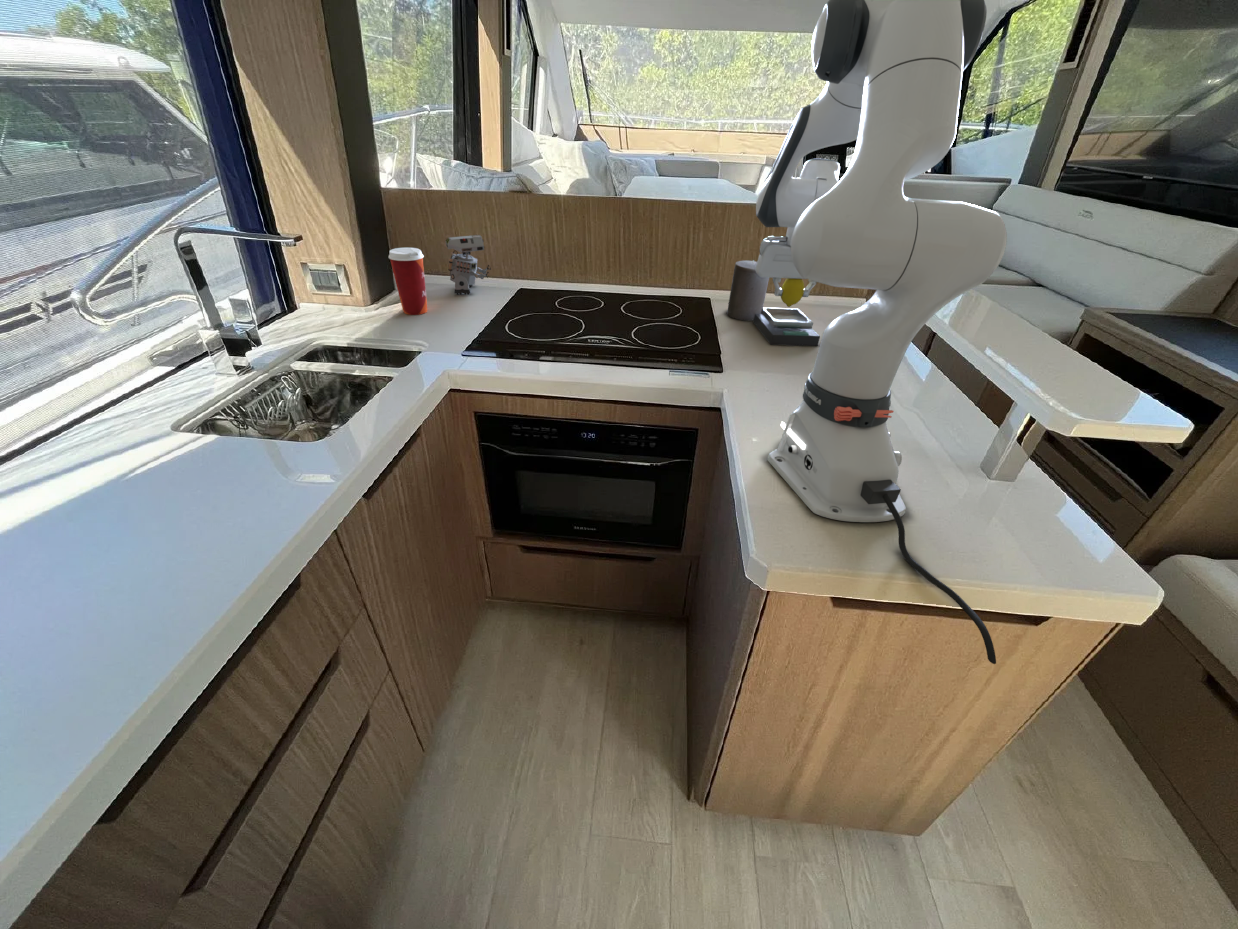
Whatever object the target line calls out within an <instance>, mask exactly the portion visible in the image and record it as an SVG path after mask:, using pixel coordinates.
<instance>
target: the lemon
mask: <svg viewBox="0 0 1238 929" xmlns="http://www.w3.org/2000/svg"><path fill="white" fill-rule="evenodd" d="M781 288H782V289H783V292H782V296H780V299H781V301H782V303H783V304H785V305H786V308H790V307H792V306H793V305H796V304H798V303H799V302H800V301H802V300H801V299H802V298H803V297H802V296H803V293H804V288H805V282H804V279H793V278H785V280H784V281H783V283H782V285H781Z"/></svg>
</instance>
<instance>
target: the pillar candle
mask: <svg viewBox="0 0 1238 929" xmlns="http://www.w3.org/2000/svg"><path fill="white" fill-rule="evenodd" d="M756 265H757V261H755V260H754V259H752V260H738V261H736V262H735V264H734V269H733V273H732V281H731V287H730V292H729V299H728V303H727V304H728V305H727V311H726V315H727V316H728V317H729V318H731V319H736V320H739V321H749V322H750V321H753V322H754V317H755V314H761V310H762V308H764V305H765V301H766V295H767V289H768V286H769V285H768V284H769V281H770V278H766V277H760V276H759V275H758V274H757V273H756V271H755V269H756Z"/></svg>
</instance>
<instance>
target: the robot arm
mask: <svg viewBox="0 0 1238 929" xmlns="http://www.w3.org/2000/svg"><path fill="white" fill-rule="evenodd" d="M987 12H988V10H987V5H986V1H985V0H828V1H827V2H826V3H825V5H824V7H823V9H822V11H821V14H820V16H819V17H818V20H817V21H816V24H815V27H814V30H813V35H812V40H811V58H812V59H811V60H812V68H813V72H814V73H815V75H816V76H817V78H818V79H819V80H821V81H824V82H826V84H825V86H824V88H823V89H822V91H821V92H820V94H819V95H818V96H817V97H816V98H815V99H814V100H812V102H811V103H810V104H807V105H805V106H803V107H802V108H800V110H799V111H798V113H797V115H796V116H795V118H794V120H793V122H792V124H791V126H790V128H789V130H788V132H787V133H786V136H785V138H784V140H783V143H782V144H781V147H780V149H779V151H778V154H777V156H776V157H775V159H774V163H773V165H772V166H771V169H770V171H769V173H768V175H767V177H766V178H765V180H764V182H763V184H762V186H761V187H760V189H759V192H758V194H757V197H756V204H755V216H756V218H757V220H759V222H760V223H761V224H762V225H763V226H764V227H765V228H787V229H786V234H785V236H782V235H781V236H774V235H769V236H767V237H765V238H764V239H763V240H761V242H760V244H759V245H760V246H759V251H758V252H759V255H758V258H757V261H756V262H757V265H756V269H755V271H756V273H757V274H758V275H759V276H760V277H766V278H769V279H771V278H772V283H773V285H774V292H773V295H774V296H775V297H781V296H782V292H783V289H782V287H780V284H779V283H781V282H782V279H787V278H793V279H802V280H807V281H808V284H807V285H806V286H805V287H804V293H803V296H802V298H809V296H810V292H811V291H812V289H813V288H814V287H815V286H816V285H817V283H820V284H823V285H827V286H831V287H834V288H845V289H846V288H847V289H850V288H851V289H861V290H875V292H874V293H873V295H871V297H870V298H869V299H868V300H867V301H865V303H863V304H862V305H860V306H858V307H857V308H855V309H853V310H850V311H847V312H845V313H843V314H840V315H838V316H837V317H836V318H834V319H833V320H832V321H831V322H830V323H829V324H828V325H827V326H826V328H825V329H824V331H823V333H822V336H821V340H820V344H819V347H818V351H817V353H816V354H817V355H816V357H815V362H814V365H813V367H812V368H813V369H812V371H811V372H810V373H809V374H808V376H807V379H806V381H805V383H804V387H803V393H802V401H801V402H800V404H799V405H798V406H797V407H796V409H794V411H792V412H791V414H789V416H788V419H787V422H786V423H785V422H784V421H781V423H780V427H781V428H782V429H783V432H782V434H781V438H780V441H779V444H778V446H777V448H776V449H774V450H772V451H770V452H769V454H768V456H767V461H768V462H769V464H770V465H771V466H772V467H773V468H774V469H775V471H776V472H777V473H778V474H779V475H780V476H781V478H782V479H783V480H784V481H785V482H786V483H787V485H788V486H789V487H790V488H791V489H792V490H793V492H794V493H795V494H796V495H797V496H798V497H799V498H800V499H801V501H802V502H803V503H804V504H805V506H807V507H808V509H809V510H810V511H811V512H812V513H813V514H815V515H818V516H820V517H823V518H827V519H831V520H836V521H840V522H851V523H879V522H880V523H881V522H888V521H893V520H894V521H895V524H896V528H897V533H898V534H897V535H898V547H899V551H900V553H901V555H902V556H903V559H904V560H905V561H906V562H907V563H908V565H910V566H911V567H912V568H913V569H914V570H915V571H917V572H918V573H919V574H920V575H921V576H923V577H924V578H925V579H926V580H927V581H928V582H929V583H931V584H932V585H934V586H935V587H936V588H938V589H939V590H940V591H942V592H943V593H945V594H946V595H948V596H949V597H950V598H951V599H952V600H953V601H954V602H955V603H956V604H957V606H959V607H960V608H961V609H962V610H963V612H964V613H965V614H966V615H967V616H968V617H969V618H970V619H971V620H972V622H973V624H975V626H976V628H977V629H978V630H979V632H980V634H981V637H982V640H983V643H984V646H985V650H986V655H987V656H986V657H987V660H988V662H989V663H991V664H992V665H996V664H997V657H996V651H995V647H994V643H993V640H992V636H991V634H990V631H989V630H988V627H987V626H986V624H985V623H984V621H983V620H982V619H981V617H980V616H979V615H978V614H977V613H976V612H975V610H973V608H972V607H970V605H969V604H968V603H966V601H965V600H964V599H962V597H961V596H960V595H959V594H958V593H957V592H955V591H954V590H953V589H952V588H950V587H949V586H948V585H947V584H944V583H943V582H942V581H940V580H939V579H938V578H936V577H935V576H934V575H933V574H931V573H930V572H929V571H928V570H927V569H925V567H923V566H922V565H921V564H919V562H917V561H916V560H915V559H914V558H913V557H912V556H911V555H910V552H909V551H908V549H907V546H906V531H905V525H904V522H903V520H902V518H901V517H903V516H904V515H905V514H906V511H907V507H906V505H905V503H904V500H903V499H902V496H901V495H900V493H901V491H902V489H901V488H900V487H899V486H898V485H897V482H898V478H899V467H900V466H901V463H902V460H903V456H902V453H901V452H900V451H896V450H895V451H894V447H893V443H892V439H891V432H889V429H888V425H887V424H888V423H887V421H888V420H889V418H890V419H891V418H892V416H891V415H890V414H892V413H894V410H892V409H890V407H891V405H892V400H891V399H892V398H891V397H892V390H891V387H892V385H893V382H894V380H895V377H896V375H897V372H898V370H899V368H900V366H901V363H902V362H903V359H904V358H905V355H906V353H907V350H908V348H909V347H910V345H911V343H912V341H913V340H914V339H915V337H916V336H917V334H918V333H919V332H920V331H921V330H922V328H923V327H924V326H925V325H926V324H927V322H928V321H930V320H931V319H932V318H933V317H934V316H935V315H936V314H938V312H939V311H940V310H941V309H943V308H944V307H945V306H947V305H948V304H949V303H951V302H952V301H954V300H955V299H957V298H959V297H960V296H962V295H964V294H966V293H967V292H970V291H971V290H974V289H976V288H977V287H979V286H981V285H982V284H984V283H985V282H986V281H987V280H988V279H989V278H990V277H991V276H992V275H993V274H994V272H995V271H996V270H997V268H998V267H999V265H1000V264H1001V262H1002V259H1003V257H1004V255H1005V252H1006V249H1007V242H1008V241H1007V240H1008V234H1007V228H1006V223H1005V222H1004V219H1003V217H1002V216H1001V215H1000V214H999V213H998V212H996V211H994V210H991V209H988V208H985V207H982V206H978V205H976V204H971V203H968V202H965V201H958V200H957V201H956V200H942V199H927V198H913V197H912V198H911V197H909V196H905V194H904V184H905V182H906V181H909V180H911V179H914V178H916V177H919V176H920V175H922V174H924V173H925V172H928V171H929V170H931V169H932V168H934V167H935V166H937V165H938V164H939V163H940V162H941V161H942V160H943V159H944V158H945V156H947V154H948V152H949V151H950V149H951V147H952V146H953V143H954V141H955V139H956V135H957V129H958V128H957V127H958V119H959V118H958V117H959V109H960V100H961V90H962V81H963V72H964V71H965V70H966V69H967V68H968V66H969V65H970V63H971V62H972V61H973V58H974V57H975V55H976V52H977V51H978V48H979V45H980V43H981V40H982V38H983V34H984V30H985V26H986V21H987ZM854 141H856V143H855V148H854V153H853V156H852V158H851V161H850V163H849V166H848V167H847V169H846V171H845V173H844V174H843V176H842V177H841V178H840V180H839V176H840V170H841V166H840V163H839V162H838V161H836V160H834V159H829V158H811V159H808V160H806V161H805V162H804V164H803V167H802V169H801V172H800V175H799V177H793V176H794V173H795V172H796V170H797V169H798V168H797V167H798V166H799V164H800V162H801V160H802V159H803V158H804V157H806V156H807V155H808V154H811V153H813V152H815V151H819V150H821V149H824V148H828V147H833V146H839V145H845V144H848V143H852V142H854Z"/></svg>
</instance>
